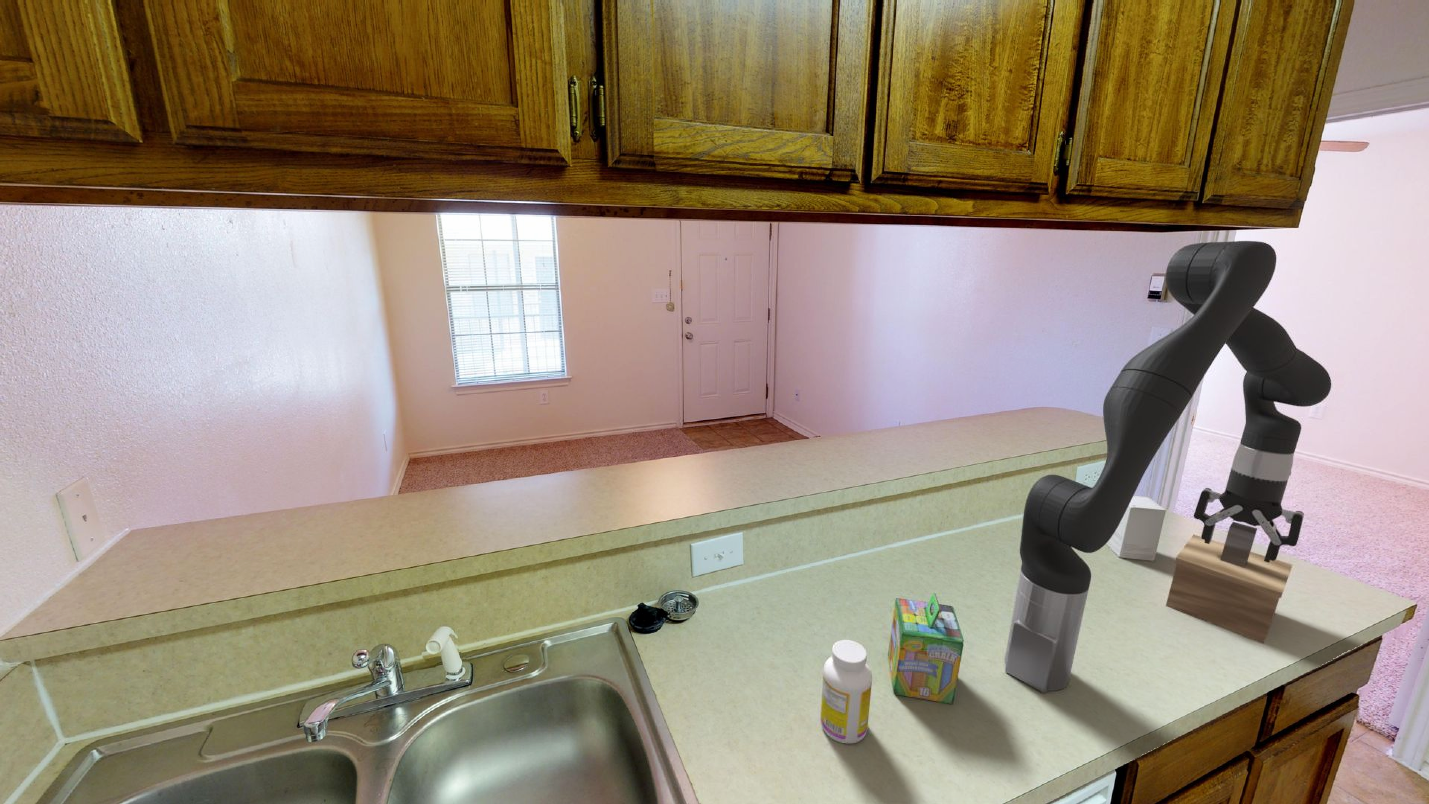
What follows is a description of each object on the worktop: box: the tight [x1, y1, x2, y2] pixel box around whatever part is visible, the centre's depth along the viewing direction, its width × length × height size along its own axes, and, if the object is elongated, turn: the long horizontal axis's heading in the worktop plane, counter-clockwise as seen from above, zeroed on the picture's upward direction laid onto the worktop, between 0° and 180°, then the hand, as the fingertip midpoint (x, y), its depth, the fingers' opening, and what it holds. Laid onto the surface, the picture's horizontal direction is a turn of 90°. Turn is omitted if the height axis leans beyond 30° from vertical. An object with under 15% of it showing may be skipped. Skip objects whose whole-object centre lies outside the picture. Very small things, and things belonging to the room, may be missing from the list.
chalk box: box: [887, 592, 965, 705], centre depth 87 cm, size 9×9×15 cm
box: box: [1165, 563, 1280, 644], centre depth 106 cm, size 14×14×10 cm
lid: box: [1174, 521, 1293, 599], centre depth 104 cm, size 15×15×8 cm
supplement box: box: [1105, 495, 1167, 562], centre depth 127 cm, size 7×7×13 cm
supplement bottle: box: [820, 639, 873, 744], centre depth 78 cm, size 7×7×13 cm
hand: (1236, 551), depth 104 cm, fingers open, 8 cm apart
